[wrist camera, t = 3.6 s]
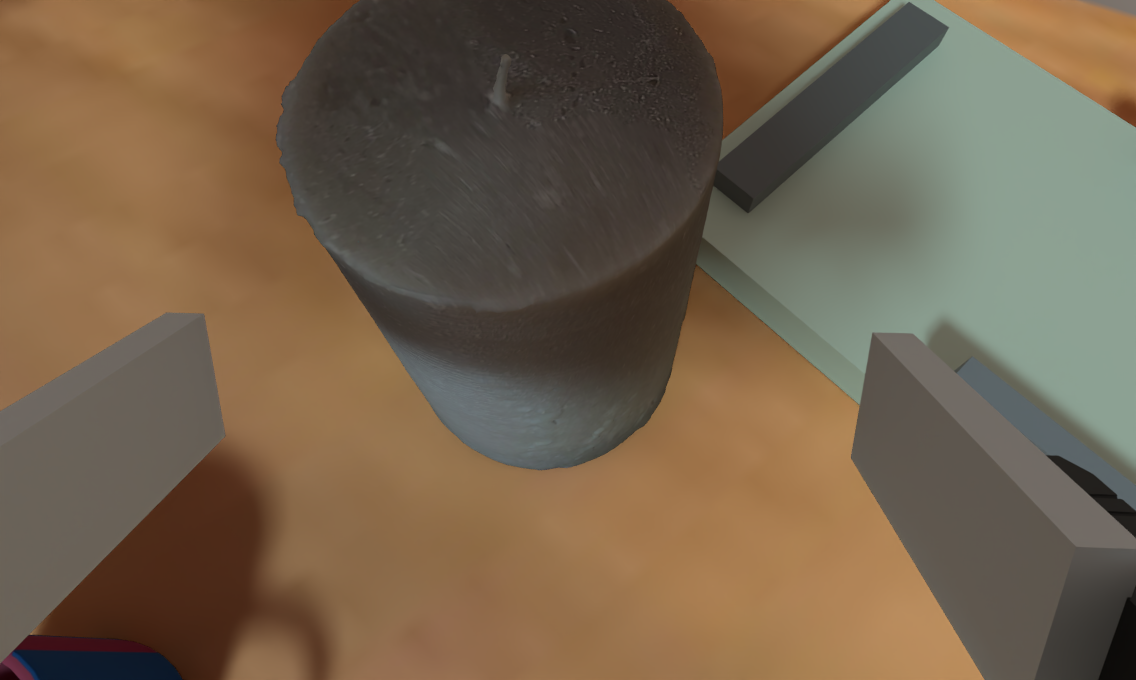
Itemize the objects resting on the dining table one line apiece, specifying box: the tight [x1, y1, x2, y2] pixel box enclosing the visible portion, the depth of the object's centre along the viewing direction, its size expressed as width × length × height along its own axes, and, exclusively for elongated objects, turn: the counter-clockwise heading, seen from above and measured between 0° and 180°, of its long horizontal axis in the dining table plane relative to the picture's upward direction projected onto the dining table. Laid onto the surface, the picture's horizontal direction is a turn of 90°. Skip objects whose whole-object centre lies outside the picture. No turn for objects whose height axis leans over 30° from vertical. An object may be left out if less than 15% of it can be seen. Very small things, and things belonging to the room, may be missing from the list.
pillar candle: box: [276, 0, 723, 470], centre depth 22 cm, size 10×10×15 cm
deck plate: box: [696, 0, 1136, 511], centre depth 26 cm, size 26×16×4 cm, turn 43°
